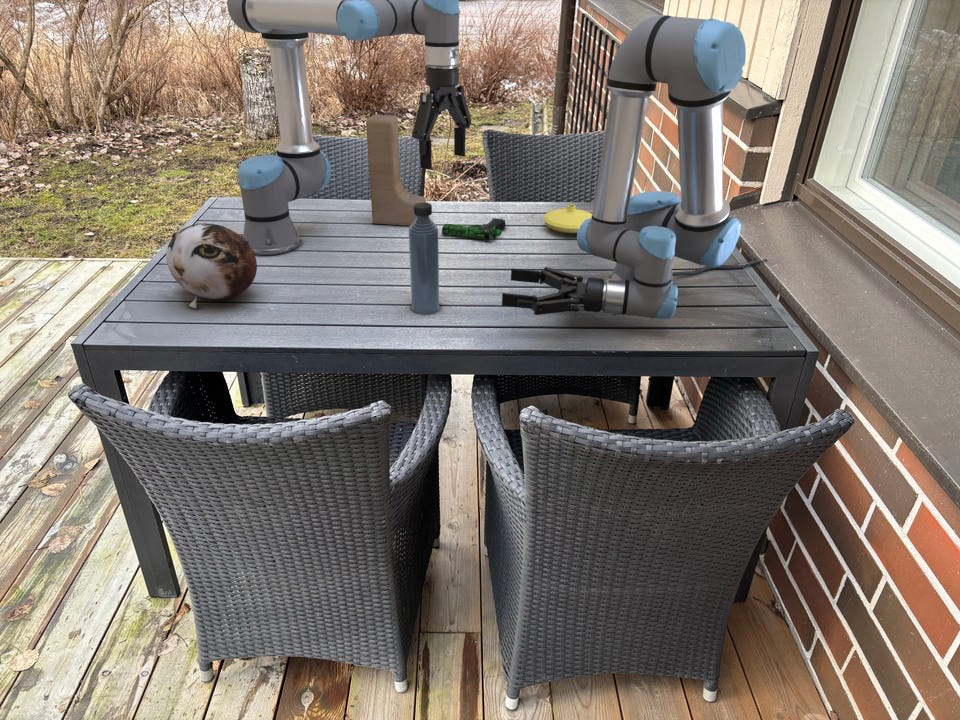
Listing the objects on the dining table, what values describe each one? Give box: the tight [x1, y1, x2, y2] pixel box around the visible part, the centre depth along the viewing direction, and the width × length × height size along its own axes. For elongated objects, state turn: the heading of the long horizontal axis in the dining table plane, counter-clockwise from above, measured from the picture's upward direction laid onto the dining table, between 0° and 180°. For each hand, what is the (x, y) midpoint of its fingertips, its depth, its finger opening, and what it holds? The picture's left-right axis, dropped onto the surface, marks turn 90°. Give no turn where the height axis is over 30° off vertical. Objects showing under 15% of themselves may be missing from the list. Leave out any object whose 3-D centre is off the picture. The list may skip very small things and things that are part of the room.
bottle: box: [408, 215, 441, 315], centre depth 159 cm, size 6×6×24 cm
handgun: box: [441, 217, 506, 242], centre depth 207 cm, size 16×3×15 cm
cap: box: [414, 202, 433, 217], centre depth 153 cm, size 4×4×2 cm
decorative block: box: [365, 114, 427, 227], centre depth 207 cm, size 8×15×30 cm, turn 82°
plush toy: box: [165, 222, 258, 309], centre depth 165 cm, size 22×18×20 cm
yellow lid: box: [543, 203, 593, 234], centre depth 209 cm, size 16×16×7 cm
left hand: (443, 161), depth 169 cm, fingers open, 13 cm apart
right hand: (506, 286), depth 159 cm, fingers open, 13 cm apart
